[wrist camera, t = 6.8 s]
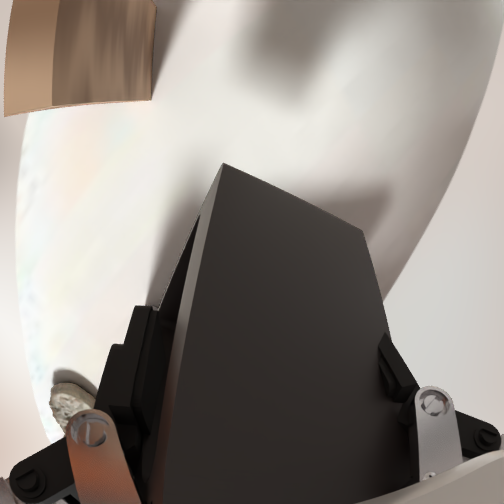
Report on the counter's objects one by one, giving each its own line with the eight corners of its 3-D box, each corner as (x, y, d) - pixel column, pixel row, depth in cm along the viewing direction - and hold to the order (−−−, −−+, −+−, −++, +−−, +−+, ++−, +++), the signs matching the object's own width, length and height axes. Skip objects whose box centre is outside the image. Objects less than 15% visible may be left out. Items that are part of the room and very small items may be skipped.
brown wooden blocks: (170, 361, 33) (162, 491, 19) (153, 361, 33) (138, 489, 19) (156, 7, 18) (85, -96, 3) (131, 9, 17) (36, -79, 3)
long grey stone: (130, 471, 51) (172, 470, 52) (130, 492, 47) (174, 491, 48) (34, 378, 33) (91, 375, 34) (25, 407, 29) (84, 408, 29)
